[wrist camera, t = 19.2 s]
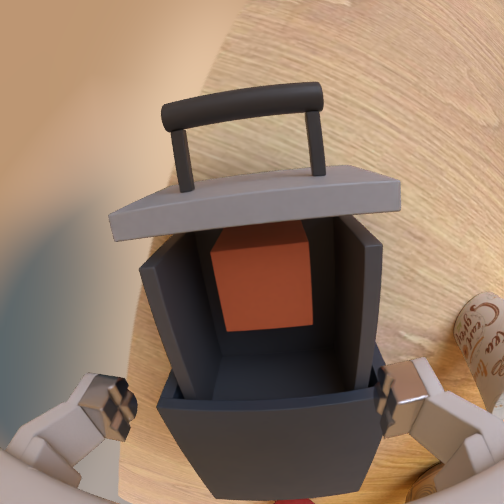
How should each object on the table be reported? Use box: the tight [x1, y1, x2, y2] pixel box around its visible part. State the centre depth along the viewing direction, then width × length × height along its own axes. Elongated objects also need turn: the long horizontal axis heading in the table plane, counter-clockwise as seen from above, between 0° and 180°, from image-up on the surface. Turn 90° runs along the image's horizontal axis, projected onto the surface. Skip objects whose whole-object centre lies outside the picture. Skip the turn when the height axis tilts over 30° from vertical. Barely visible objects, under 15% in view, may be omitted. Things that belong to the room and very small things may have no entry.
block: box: [210, 220, 313, 332], centre depth 16 cm, size 4×4×4 cm
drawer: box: [108, 82, 401, 400], centre depth 15 cm, size 18×11×8 cm, turn 8°
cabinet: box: [156, 342, 385, 501], centre depth 20 cm, size 15×13×10 cm
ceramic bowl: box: [405, 462, 445, 503], centre depth 26 cm, size 22×17×15 cm
